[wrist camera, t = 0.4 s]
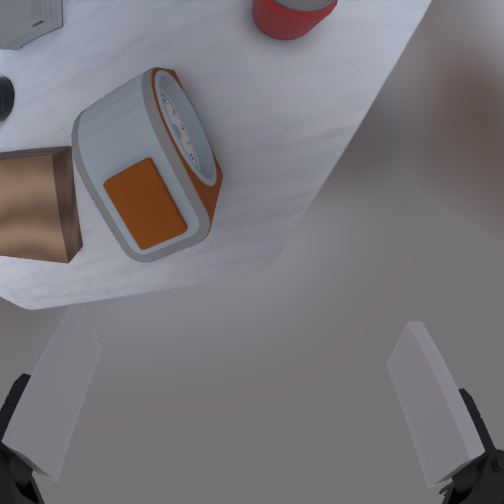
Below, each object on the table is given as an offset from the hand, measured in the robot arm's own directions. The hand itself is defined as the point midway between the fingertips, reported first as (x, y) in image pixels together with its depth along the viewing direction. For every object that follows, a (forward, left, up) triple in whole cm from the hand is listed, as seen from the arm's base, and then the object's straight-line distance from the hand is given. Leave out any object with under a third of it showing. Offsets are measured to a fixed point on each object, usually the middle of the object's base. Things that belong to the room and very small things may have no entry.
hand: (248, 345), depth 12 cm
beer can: (-18, +2, -26) cm, 32 cm away
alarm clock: (-3, -9, -26) cm, 28 cm away
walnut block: (+5, -29, -26) cm, 39 cm away
